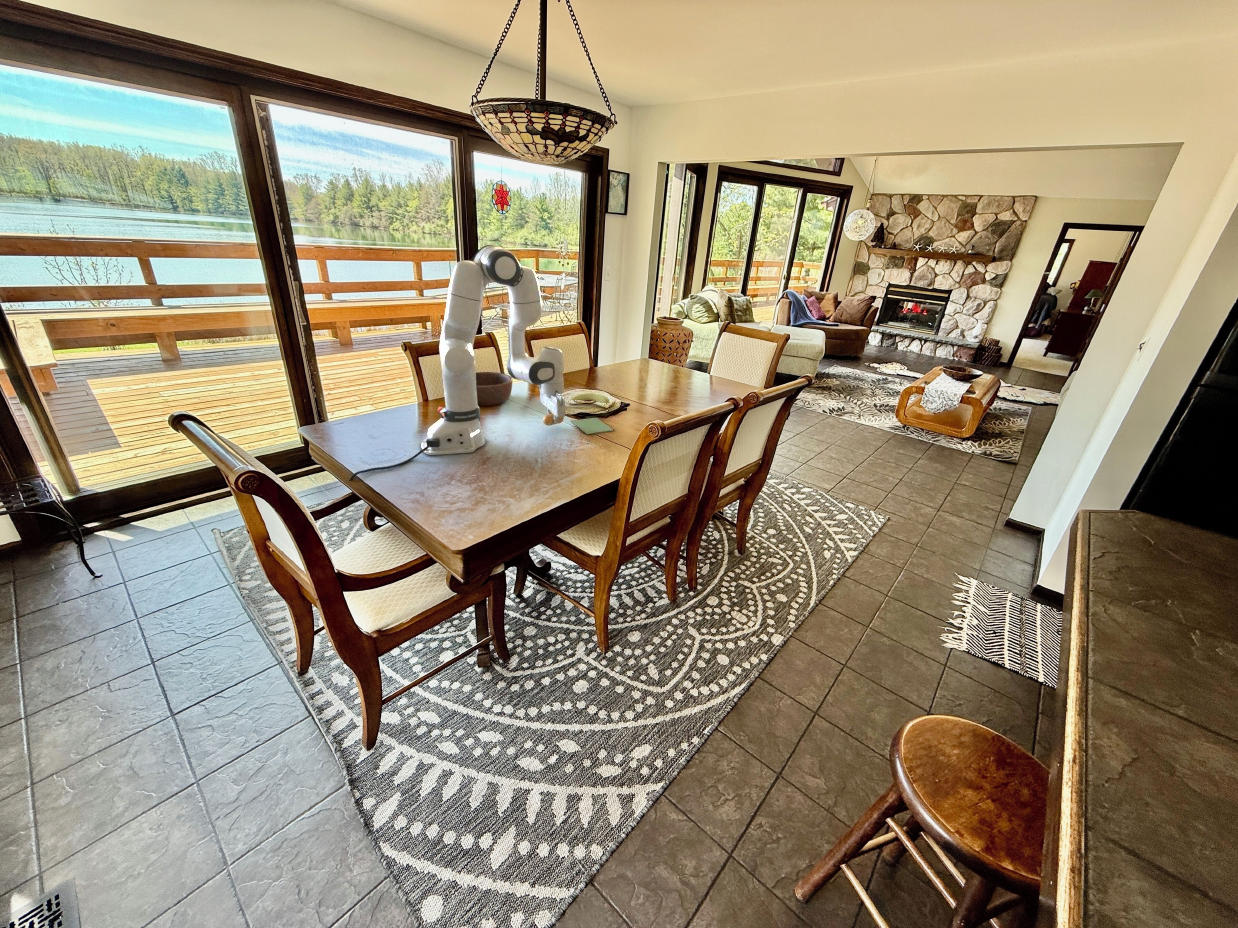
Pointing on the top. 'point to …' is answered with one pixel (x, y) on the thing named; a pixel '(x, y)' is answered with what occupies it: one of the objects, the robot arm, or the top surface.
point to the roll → (551, 419)
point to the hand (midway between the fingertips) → (553, 420)
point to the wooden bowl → (492, 388)
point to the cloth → (592, 425)
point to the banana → (591, 397)
